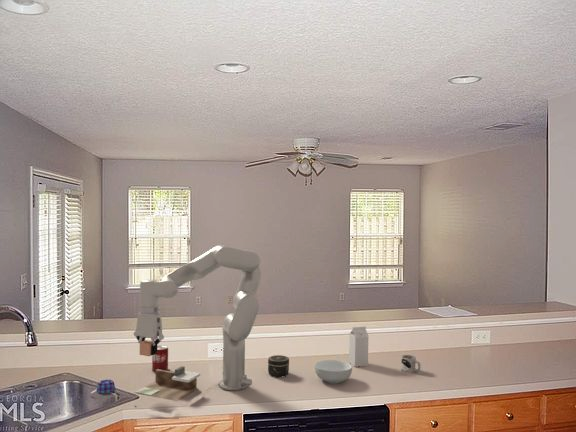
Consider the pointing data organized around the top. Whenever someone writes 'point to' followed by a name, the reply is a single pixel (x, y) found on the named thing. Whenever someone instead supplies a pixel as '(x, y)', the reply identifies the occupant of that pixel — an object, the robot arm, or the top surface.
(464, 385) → the top surface
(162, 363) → the soda can
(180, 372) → the sliding lid
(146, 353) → the terracotta block
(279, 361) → the jar
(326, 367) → the cereal bowl
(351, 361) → the milk carton
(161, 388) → the puzzle board
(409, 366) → the mug
